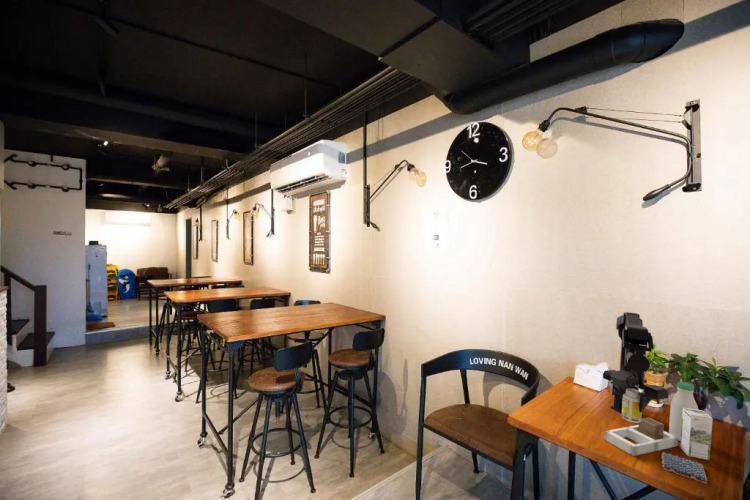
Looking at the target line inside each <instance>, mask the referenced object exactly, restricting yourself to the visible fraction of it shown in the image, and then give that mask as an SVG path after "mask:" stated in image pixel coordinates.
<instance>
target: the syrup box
mask: <svg viewBox="0 0 750 500" xmlns="http://www.w3.org/2000/svg"><path fill="white" fill-rule="evenodd" d="M712 431H713V417H712V416H710V415H709V413H707V412H706V411H704V410H700V409H698V410H696V409H689V408H683V411H682V426H681V440H680V441H679V448H680V449H681V450H682V451H683V452H684V454H686V456H687V457H689V458H693V459H694V458H695V459H698V460H703V461H710V459H711V457H710V456H711V446H712V445H711V444H712V433H713V432H712Z"/></svg>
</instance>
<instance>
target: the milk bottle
mask: <svg viewBox="0 0 750 500" xmlns="http://www.w3.org/2000/svg"><path fill="white" fill-rule="evenodd" d="M676 386H677V387H676V389H677V391H676V393H675V395H674V396H673V398H672V399H671V403H670V409H669V410H670V411H669V424H668V433H669V434H671V435H674V436H676V437H678V442H680V440H681V426H682V411H683V408H689V409H696V410H699V407H698V403H697V402H696V400H695V397H694V393H695V385H694V384H692V383H688V382H684V381H678V382H677V385H676Z"/></svg>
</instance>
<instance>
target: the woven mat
mask: <svg viewBox="0 0 750 500" xmlns="http://www.w3.org/2000/svg"><path fill="white" fill-rule="evenodd" d="M660 455H661V459H662V461H661V464H662V465H661V467H662V468H663V470H665V471H666V472H670V473H673V474H676V475H679V476H683V477H685V478H688V479H692V480H694V481H697V482H700V483H703V484H707V485H708V477H707V476H706V475H707V474H706V472H705V469H704V466H703V464H702V463H701V462H699V463H698V461H697V460H696V461H694V460H692V459H691V458H688V459H689V460H688V459H687V458H685V457H684V456H682V457H681V456H678V455H677V454H672V453H671V452H670V453H668V452H666V451H665V450H663V452H661V454H660ZM666 457H667V458H666ZM698 477H699V478H698Z"/></svg>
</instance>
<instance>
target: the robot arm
mask: <svg viewBox="0 0 750 500" xmlns="http://www.w3.org/2000/svg"><path fill="white" fill-rule="evenodd" d="M640 316H641V315H640V314H639V313H635V312H629V311H627V312H626V311H625V312H623V314H622V315H620V316H617V318H616V322H615V330H616V331H617V334H618V337H619V339H620V340H621V344H620V357H619V370H616V369H609V370H604V371H603V373H602V378H603V379H604V380H606V381H609V382H610V384H611V387H610V388H611V389H610V391H611V395H612V396H613V397H614V398H613V405H610V407H609V408H611V409H613V410H615V411H617V412H619V413H621V414H622V401H623V394H625V393H626V389H627V388H631V389H635V390H638V391H640V390H642V391H641V392H640V393H638V395H639V397H640V403H639V412H642V413H643V412H644V411H645V409H646V408H647V406H648V405H649V404H650V402H651V401H652V400H663V399H668V398H669V391H668V389H666V388H664V387H663V386H659V385H656V384H652V385H648V384H646V383H648V379H645V375H646V374H645V373H646V372H648V370H649V369H650V367H651V362H650V360H649V358H648V356H647V354H646V353H647V352H648V353H649V352H651V353H652V350H653V349H654V337H653V335H652V333H651V332H650V331H649V329H648V328H647V327H646V326H644V324H643V323H644V322H643V319H642V318H640Z"/></svg>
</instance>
